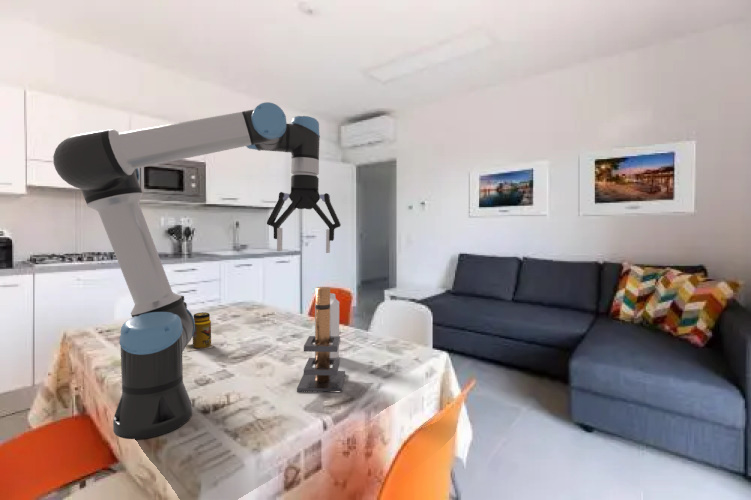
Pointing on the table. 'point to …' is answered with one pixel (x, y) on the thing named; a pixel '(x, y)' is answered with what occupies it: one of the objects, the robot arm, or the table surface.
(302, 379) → the collar stand
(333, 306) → the milk
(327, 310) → the brown wooden cylinder
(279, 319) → the table surface
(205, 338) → the condiment
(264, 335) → the table surface
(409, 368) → the table surface
